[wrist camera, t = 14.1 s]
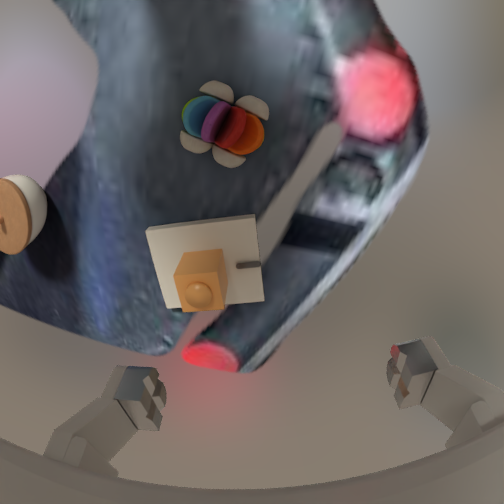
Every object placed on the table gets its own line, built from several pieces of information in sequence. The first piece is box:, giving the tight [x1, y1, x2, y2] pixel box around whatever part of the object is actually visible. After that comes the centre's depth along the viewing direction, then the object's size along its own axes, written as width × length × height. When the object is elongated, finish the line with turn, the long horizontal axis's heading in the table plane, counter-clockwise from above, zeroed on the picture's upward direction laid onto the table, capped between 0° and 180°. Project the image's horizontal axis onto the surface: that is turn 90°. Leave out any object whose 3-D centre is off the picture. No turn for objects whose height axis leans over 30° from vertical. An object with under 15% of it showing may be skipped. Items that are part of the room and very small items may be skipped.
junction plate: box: [145, 214, 264, 308], centre depth 38 cm, size 12×14×6 cm
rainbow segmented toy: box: [180, 81, 269, 168], centre depth 30 cm, size 8×10×7 cm
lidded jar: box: [0, 175, 47, 254], centre depth 32 cm, size 11×11×9 cm
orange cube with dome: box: [173, 249, 228, 312], centre depth 36 cm, size 5×5×7 cm
